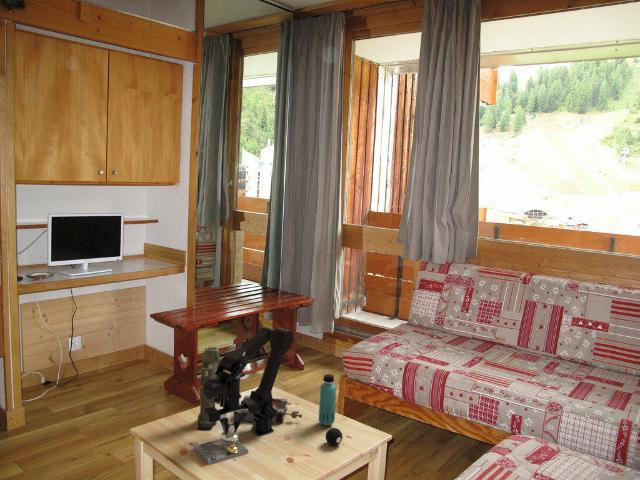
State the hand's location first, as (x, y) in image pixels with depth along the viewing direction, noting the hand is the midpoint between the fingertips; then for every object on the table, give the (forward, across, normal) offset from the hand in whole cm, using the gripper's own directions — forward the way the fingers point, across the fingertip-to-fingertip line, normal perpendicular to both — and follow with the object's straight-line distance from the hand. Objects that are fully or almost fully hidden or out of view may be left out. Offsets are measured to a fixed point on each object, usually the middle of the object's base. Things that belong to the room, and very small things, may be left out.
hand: (230, 433), depth 192 cm
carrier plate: (+5, +4, +2) cm, 7 cm away
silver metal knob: (+2, 0, 0) cm, 2 cm away
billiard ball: (+5, -33, +18) cm, 38 cm away
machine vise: (+5, -25, -14) cm, 29 cm away
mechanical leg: (+5, -1, -20) cm, 21 cm away
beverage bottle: (+5, -40, +4) cm, 40 cm away
